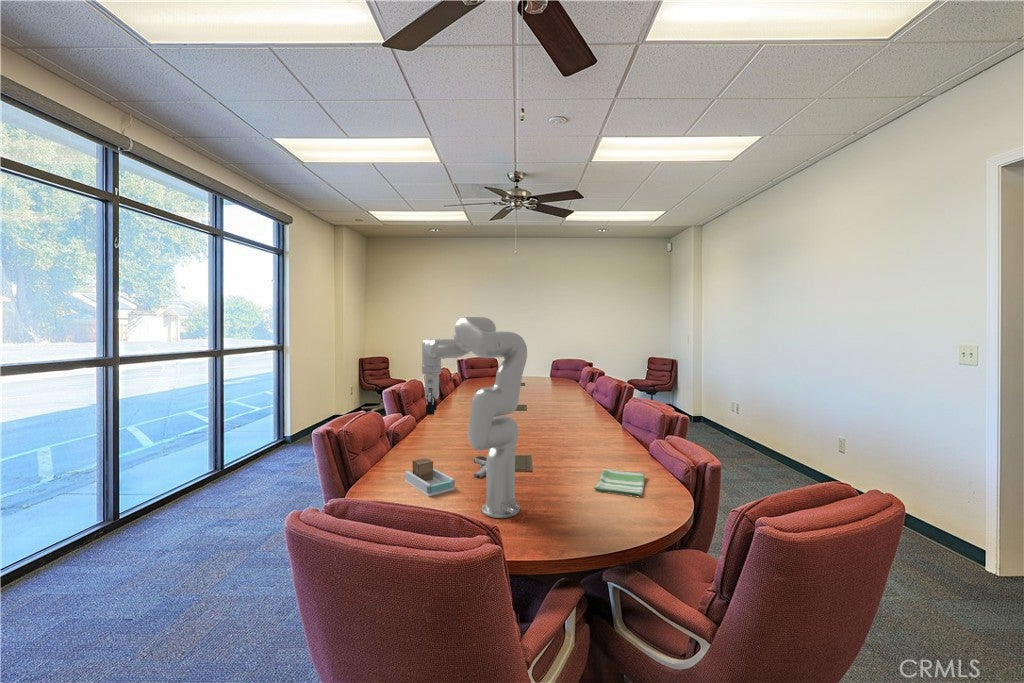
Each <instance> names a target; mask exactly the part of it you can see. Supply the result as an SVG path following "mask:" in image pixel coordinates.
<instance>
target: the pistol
mask: <svg viewBox="0 0 1024 683" xmlns="http://www.w3.org/2000/svg"><path fill="white" fill-rule="evenodd" d="M473 462H474V463H475V464H477V465H478V464H479V465H480V466H479V467H480V469H478V471H476V472H475V473H473V477H474V478H476V479H482V478H483V477H484V476H486V465H487V456H484V455H477V456H476V457H474V459H473Z"/></svg>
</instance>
